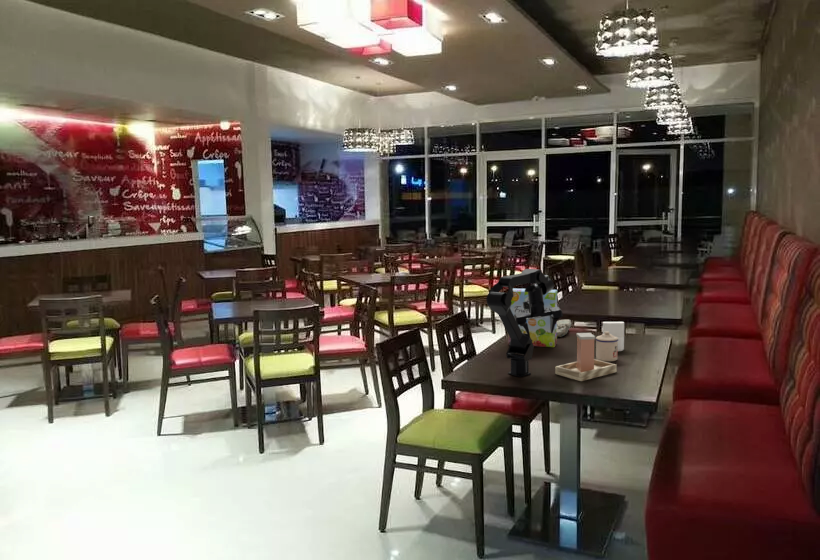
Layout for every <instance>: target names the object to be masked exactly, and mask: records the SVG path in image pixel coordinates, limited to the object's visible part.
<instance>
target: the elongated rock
mask: <svg viewBox="0 0 820 560" xmlns="http://www.w3.org/2000/svg"><path fill="white" fill-rule="evenodd" d="M572 324H573V322H572V320H571V319H559V320H557V337H563V336H565V335H568V333H569V329H571V328H572V327H571V326H572Z"/></svg>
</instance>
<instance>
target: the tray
mask: <svg viewBox="0 0 820 560" xmlns="http://www.w3.org/2000/svg"><path fill="white" fill-rule="evenodd" d="M617 365H618V364H617V363H616V364H615V363H611V362H609V361H600V360H597V359H596V358H594V369H593V370H589V371H585V372H580V371H579V370H578V369H577V360H576V361H572V362H568V363H565V364H560V365H556V366H555V369H554V370H555V371H554V372H555V375H558V376H561V377H565V378H568V379H571V380H575V381H579V382H584V381H587V380H591V379H595V378H598V377H602V376H603V377H604V376H607V375H611V374H614V373H617V371H618V370H617Z"/></svg>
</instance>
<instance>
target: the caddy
mask: <svg viewBox="0 0 820 560" xmlns="http://www.w3.org/2000/svg"><path fill="white" fill-rule="evenodd" d="M575 336H576V337H577V338H576V340H577V341H576V343H577V345H576V361H577V369H578V370H579V371H580V372H585V371H589V370H593V369H594V359H595V340H596V335H594V334H592V332H576V334H575Z"/></svg>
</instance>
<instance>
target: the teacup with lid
mask: <svg viewBox="0 0 820 560" xmlns="http://www.w3.org/2000/svg"><path fill="white" fill-rule="evenodd" d="M595 341H596V343H595V347H596V348H595V356H596V357H595V359H596V360H600V361H604V362H615V361H617V360H618V352H619V351H618V338H617V337H615V336H613V335H611V334H609V332H605V334H603V333H602V334H601V335H597V336H595Z"/></svg>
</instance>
